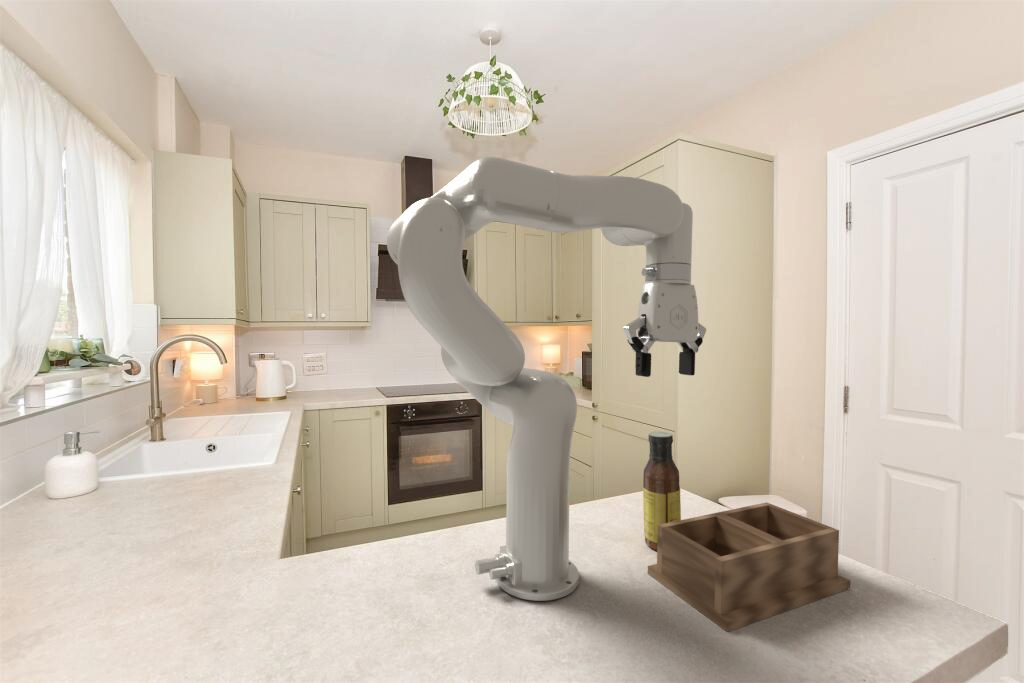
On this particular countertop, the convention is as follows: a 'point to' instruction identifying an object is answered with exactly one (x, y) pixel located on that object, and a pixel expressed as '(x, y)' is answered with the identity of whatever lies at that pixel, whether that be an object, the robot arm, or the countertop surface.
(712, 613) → the caddy
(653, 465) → the sauce bottle
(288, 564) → the countertop surface
